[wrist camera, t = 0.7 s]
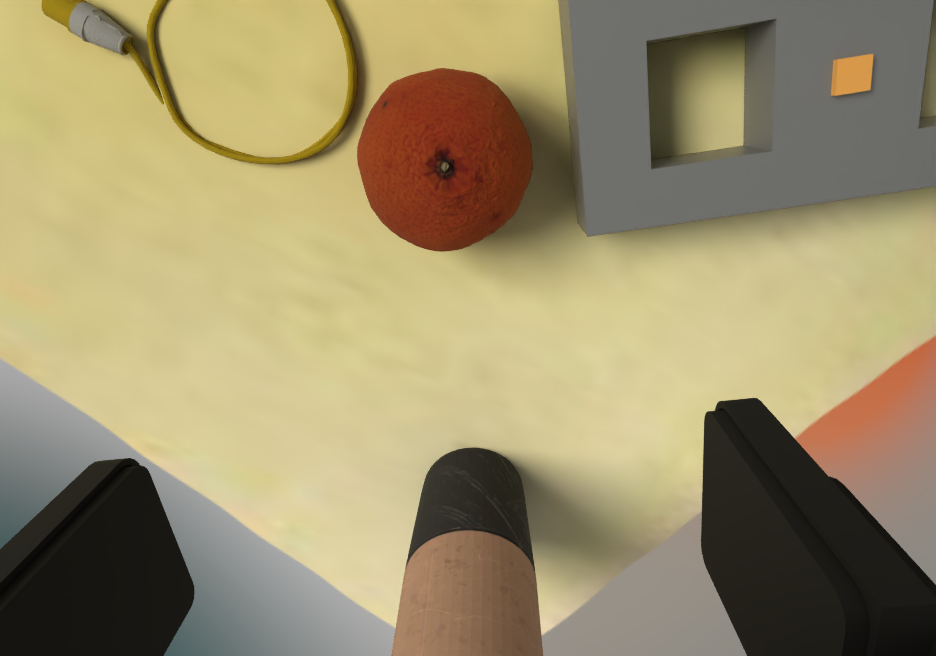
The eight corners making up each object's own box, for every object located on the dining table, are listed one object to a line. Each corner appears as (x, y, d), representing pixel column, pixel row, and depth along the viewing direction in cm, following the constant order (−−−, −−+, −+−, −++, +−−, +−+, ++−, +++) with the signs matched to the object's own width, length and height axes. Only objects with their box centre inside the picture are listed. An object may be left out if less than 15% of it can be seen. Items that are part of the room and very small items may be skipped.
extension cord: (181, -195, 28) (159, -215, 26) (403, 75, 32) (398, 73, 30) (38, -6, 31) (10, -13, 29) (257, 217, 35) (245, 224, 34)
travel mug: (457, 424, 40) (431, 712, 21) (548, 477, 41) (599, 791, 23) (400, 500, 42) (332, 817, 24) (487, 547, 44) (488, 882, 25)
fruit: (473, 36, 31) (469, 17, 24) (552, 182, 34) (571, 206, 26) (339, 126, 33) (296, 135, 25) (424, 258, 36) (407, 301, 28)
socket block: (557, -6, 30) (567, -19, 26) (1099, -103, 28) (1191, -132, 24) (577, 223, 34) (588, 238, 31) (1048, 154, 32) (1119, 161, 29)
